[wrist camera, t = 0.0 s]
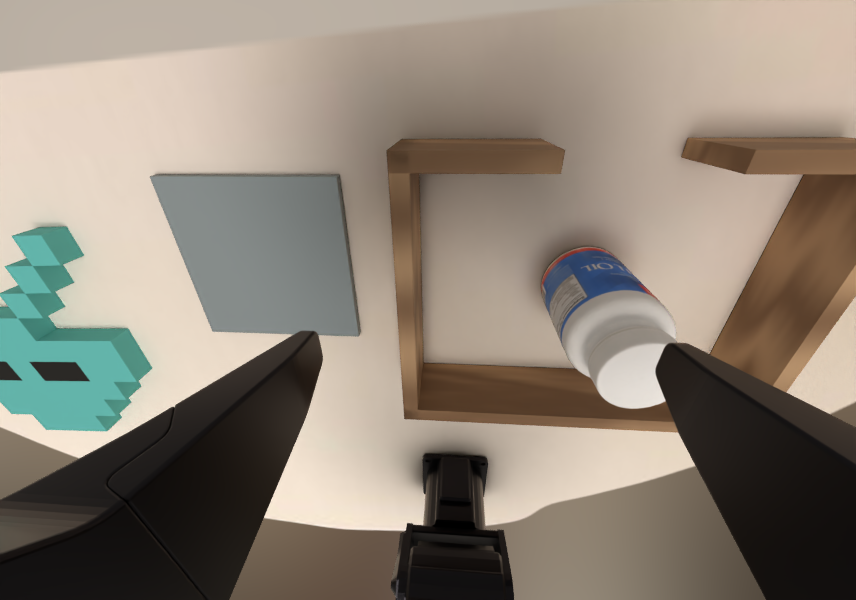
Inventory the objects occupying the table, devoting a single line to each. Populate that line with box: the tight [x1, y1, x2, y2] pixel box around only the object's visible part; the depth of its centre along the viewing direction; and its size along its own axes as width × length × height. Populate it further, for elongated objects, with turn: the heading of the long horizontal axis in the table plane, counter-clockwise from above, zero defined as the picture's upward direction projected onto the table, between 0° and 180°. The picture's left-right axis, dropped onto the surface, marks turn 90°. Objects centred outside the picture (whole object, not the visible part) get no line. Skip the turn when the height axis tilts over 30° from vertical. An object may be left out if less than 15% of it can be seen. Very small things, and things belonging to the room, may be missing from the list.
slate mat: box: [150, 174, 361, 336], centre depth 24 cm, size 12×12×1 cm
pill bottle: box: [541, 247, 677, 409], centre depth 20 cm, size 6×5×10 cm
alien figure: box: [0, 227, 152, 431], centre depth 30 cm, size 20×2×20 cm
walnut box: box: [387, 137, 856, 432], centre depth 22 cm, size 18×24×5 cm
